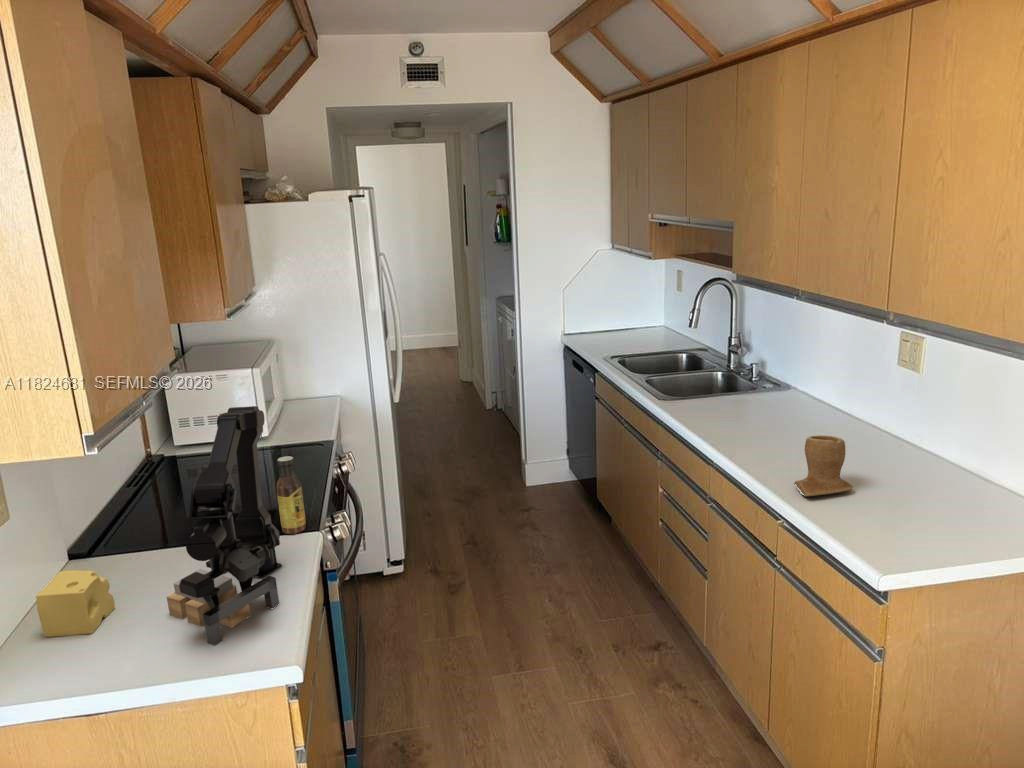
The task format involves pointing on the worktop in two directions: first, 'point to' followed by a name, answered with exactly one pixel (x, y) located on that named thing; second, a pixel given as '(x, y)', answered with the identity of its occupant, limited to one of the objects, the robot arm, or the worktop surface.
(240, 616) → the block
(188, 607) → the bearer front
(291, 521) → the sauce bottle
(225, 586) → the slab
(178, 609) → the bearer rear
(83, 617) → the cheese
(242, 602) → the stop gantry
